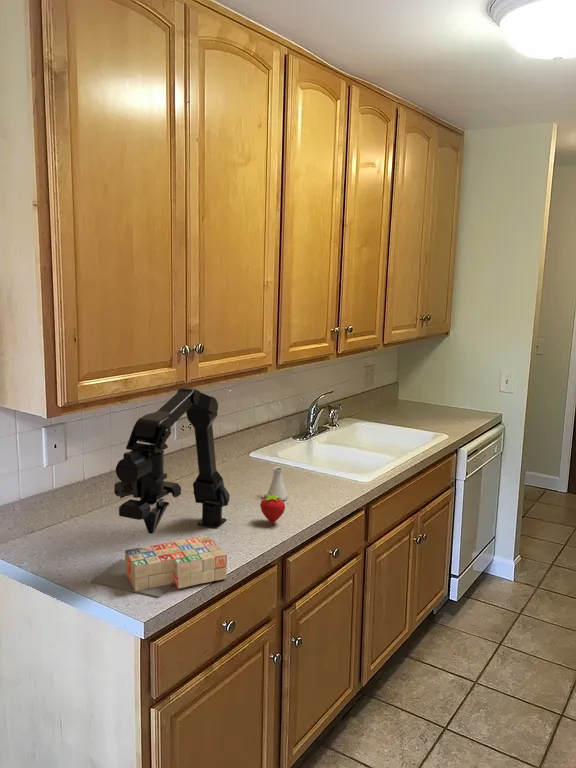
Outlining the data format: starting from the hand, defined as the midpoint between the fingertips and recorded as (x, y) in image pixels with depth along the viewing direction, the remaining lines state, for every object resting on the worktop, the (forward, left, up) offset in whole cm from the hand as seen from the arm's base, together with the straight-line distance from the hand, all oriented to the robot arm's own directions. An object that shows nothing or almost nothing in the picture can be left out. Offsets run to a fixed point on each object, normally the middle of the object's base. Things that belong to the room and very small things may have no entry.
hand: (151, 533), depth 155 cm
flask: (-60, +10, -10) cm, 62 cm away
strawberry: (-40, +16, -10) cm, 44 cm away
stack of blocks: (-4, +2, -7) cm, 8 cm away
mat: (+4, -1, -10) cm, 11 cm away
